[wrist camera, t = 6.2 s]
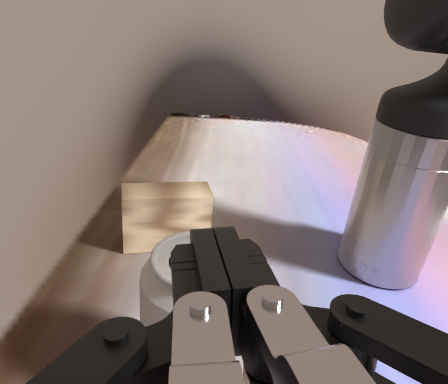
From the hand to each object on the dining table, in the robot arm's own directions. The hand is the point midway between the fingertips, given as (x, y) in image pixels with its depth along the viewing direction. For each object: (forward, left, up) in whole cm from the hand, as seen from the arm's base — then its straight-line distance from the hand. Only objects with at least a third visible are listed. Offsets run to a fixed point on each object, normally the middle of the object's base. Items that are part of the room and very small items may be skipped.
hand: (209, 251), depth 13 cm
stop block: (-13, -24, -18) cm, 33 cm away
